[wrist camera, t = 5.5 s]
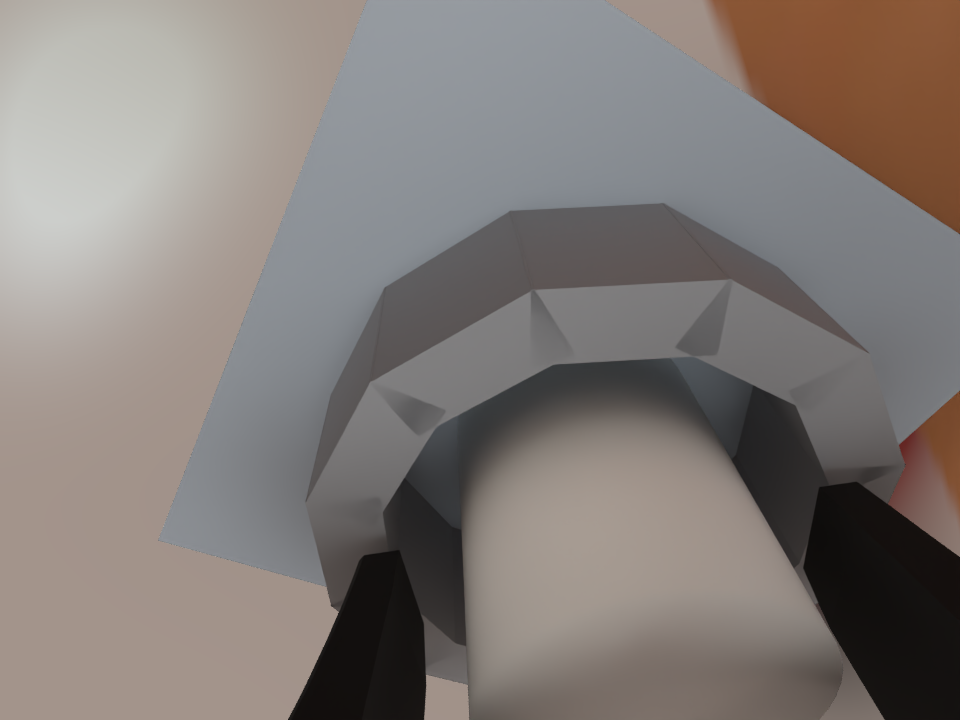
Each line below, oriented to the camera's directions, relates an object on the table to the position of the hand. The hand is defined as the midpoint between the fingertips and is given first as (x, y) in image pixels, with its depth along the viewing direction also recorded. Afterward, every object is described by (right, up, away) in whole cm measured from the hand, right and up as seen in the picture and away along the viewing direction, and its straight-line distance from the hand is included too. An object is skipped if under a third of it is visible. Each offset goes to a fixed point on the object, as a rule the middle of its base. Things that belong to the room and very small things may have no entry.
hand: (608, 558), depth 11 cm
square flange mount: (0, +2, +4) cm, 4 cm away
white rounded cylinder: (0, +2, +3) cm, 3 cm away
